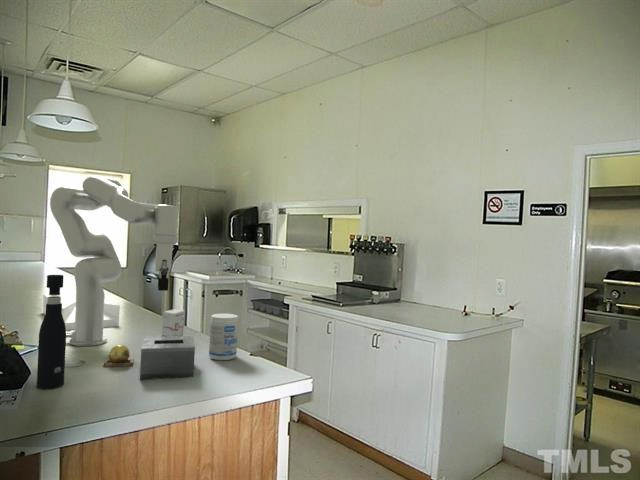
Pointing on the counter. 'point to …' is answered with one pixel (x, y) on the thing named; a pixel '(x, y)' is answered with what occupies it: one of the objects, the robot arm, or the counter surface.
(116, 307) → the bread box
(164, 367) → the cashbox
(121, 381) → the counter surface
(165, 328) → the ink box
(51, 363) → the black water bottle
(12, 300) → the counter surface
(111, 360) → the coin
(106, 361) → the cradle
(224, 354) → the supplement tub
